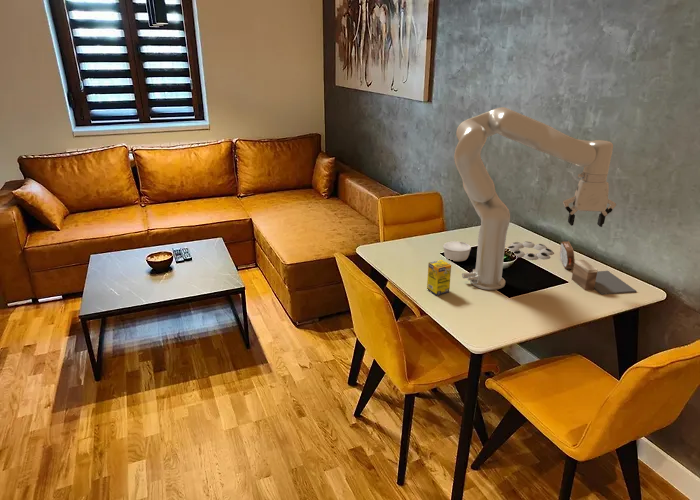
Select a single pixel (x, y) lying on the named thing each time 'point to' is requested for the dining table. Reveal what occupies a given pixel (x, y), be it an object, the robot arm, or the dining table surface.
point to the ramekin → (456, 250)
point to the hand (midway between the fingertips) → (585, 225)
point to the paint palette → (540, 247)
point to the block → (584, 274)
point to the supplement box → (439, 277)
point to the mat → (610, 284)
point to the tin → (567, 255)
